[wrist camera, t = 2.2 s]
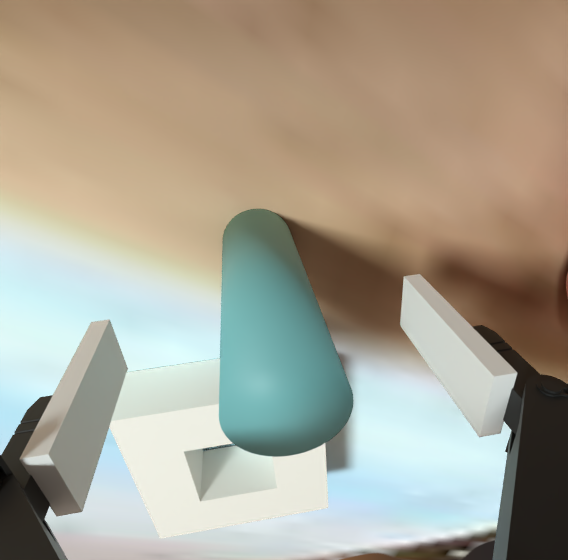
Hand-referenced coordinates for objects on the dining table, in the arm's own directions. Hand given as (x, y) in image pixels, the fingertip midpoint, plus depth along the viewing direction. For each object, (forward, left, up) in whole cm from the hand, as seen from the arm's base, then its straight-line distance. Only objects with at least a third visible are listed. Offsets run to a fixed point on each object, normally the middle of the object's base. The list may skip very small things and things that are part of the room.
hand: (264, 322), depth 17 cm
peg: (0, 0, -9) cm, 9 cm away
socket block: (+4, +16, -9) cm, 18 cm away
